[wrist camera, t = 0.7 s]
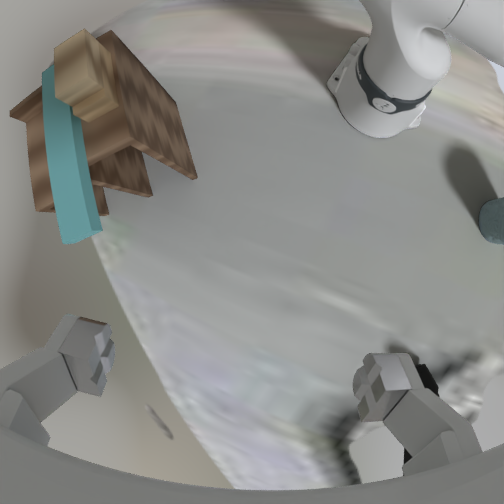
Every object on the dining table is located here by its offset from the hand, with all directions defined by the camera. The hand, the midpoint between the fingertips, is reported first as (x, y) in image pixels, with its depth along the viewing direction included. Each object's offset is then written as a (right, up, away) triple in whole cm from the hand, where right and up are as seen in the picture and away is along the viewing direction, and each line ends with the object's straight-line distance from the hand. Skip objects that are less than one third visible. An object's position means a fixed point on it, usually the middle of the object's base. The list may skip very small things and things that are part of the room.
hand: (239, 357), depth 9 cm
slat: (-20, +15, +19) cm, 31 cm away
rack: (-21, +21, +45) cm, 54 cm away
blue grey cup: (+49, +9, +39) cm, 63 cm away
